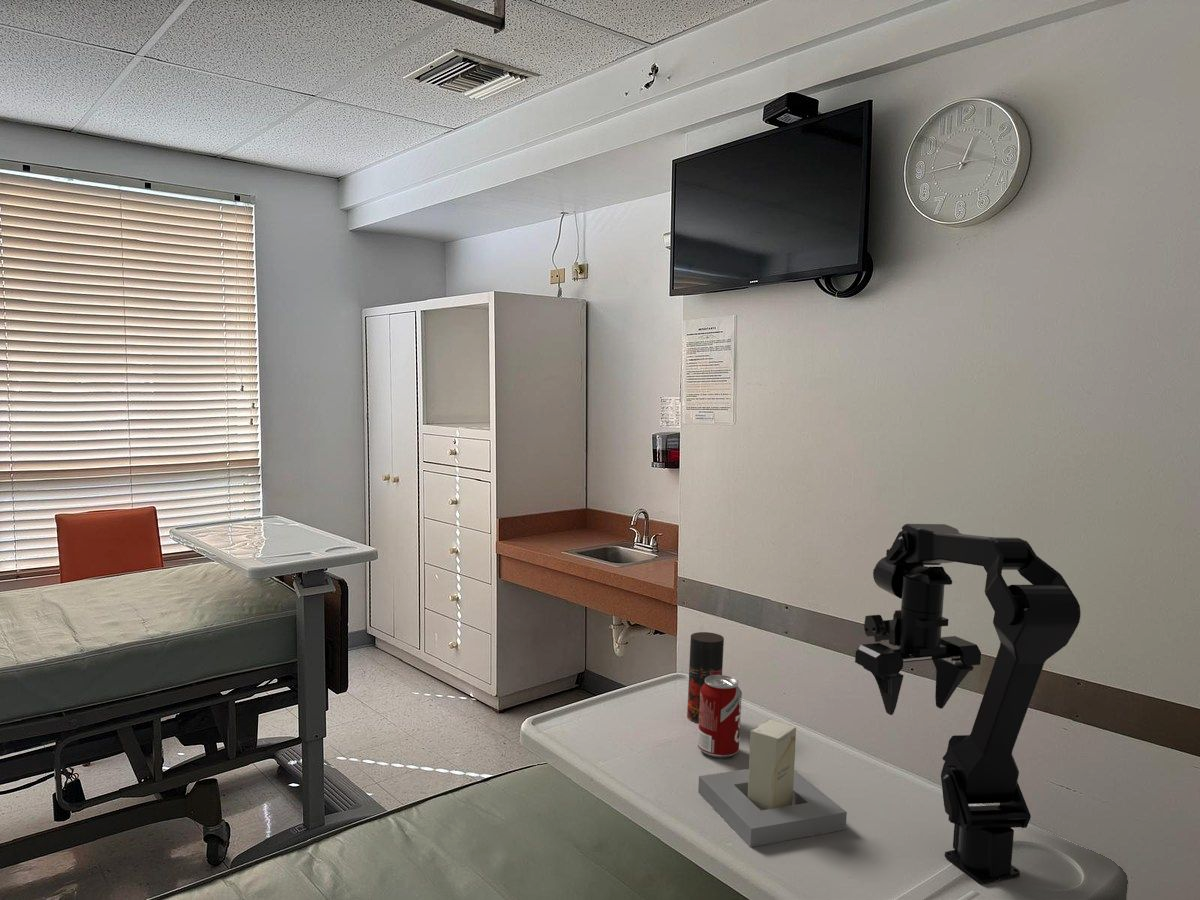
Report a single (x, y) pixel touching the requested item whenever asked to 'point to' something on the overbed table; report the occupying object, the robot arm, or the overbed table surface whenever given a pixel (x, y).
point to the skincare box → (772, 765)
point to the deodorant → (702, 667)
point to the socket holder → (771, 825)
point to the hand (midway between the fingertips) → (914, 710)
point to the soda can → (719, 716)
